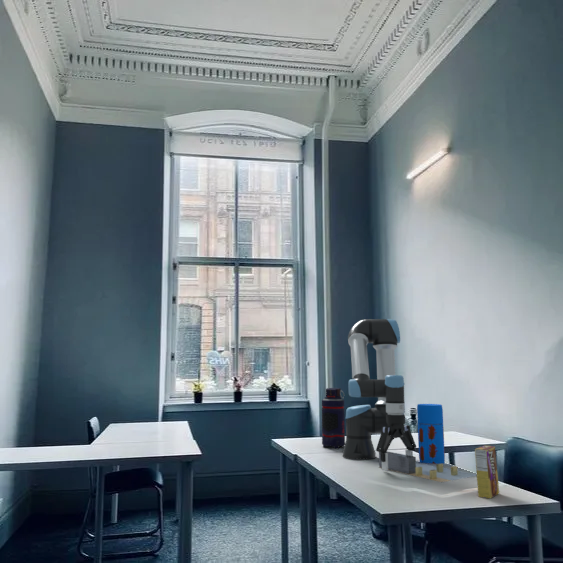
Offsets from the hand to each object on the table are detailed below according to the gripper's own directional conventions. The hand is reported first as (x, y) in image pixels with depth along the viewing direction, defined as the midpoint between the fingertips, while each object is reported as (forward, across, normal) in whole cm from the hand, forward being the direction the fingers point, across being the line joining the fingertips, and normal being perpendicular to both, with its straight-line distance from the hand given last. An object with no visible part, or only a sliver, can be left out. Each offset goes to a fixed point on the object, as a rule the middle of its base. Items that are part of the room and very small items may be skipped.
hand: (397, 468), depth 207 cm
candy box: (+2, -1, -42) cm, 42 cm away
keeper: (+1, +6, -15) cm, 16 cm away
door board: (+2, +9, -8) cm, 12 cm away
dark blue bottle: (+1, +22, +65) cm, 69 cm away
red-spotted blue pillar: (+2, +27, +5) cm, 27 cm away
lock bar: (0, 0, 0) cm, 1 cm away
